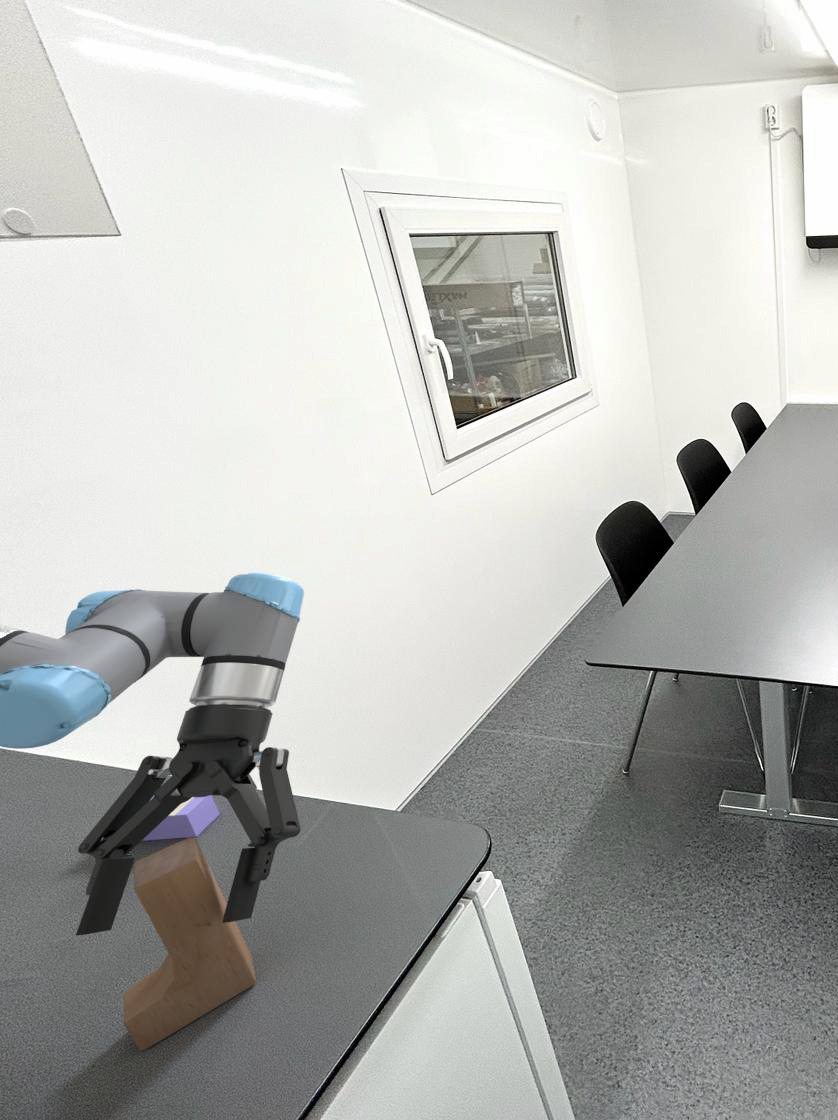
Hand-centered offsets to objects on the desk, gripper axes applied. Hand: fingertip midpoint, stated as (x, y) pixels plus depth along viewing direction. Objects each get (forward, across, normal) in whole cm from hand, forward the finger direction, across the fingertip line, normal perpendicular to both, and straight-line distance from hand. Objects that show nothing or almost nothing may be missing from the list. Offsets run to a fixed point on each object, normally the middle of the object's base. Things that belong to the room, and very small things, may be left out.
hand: (165, 927), depth 62 cm
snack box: (-10, +24, -25) cm, 36 cm away
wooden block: (+8, 0, -7) cm, 11 cm away
